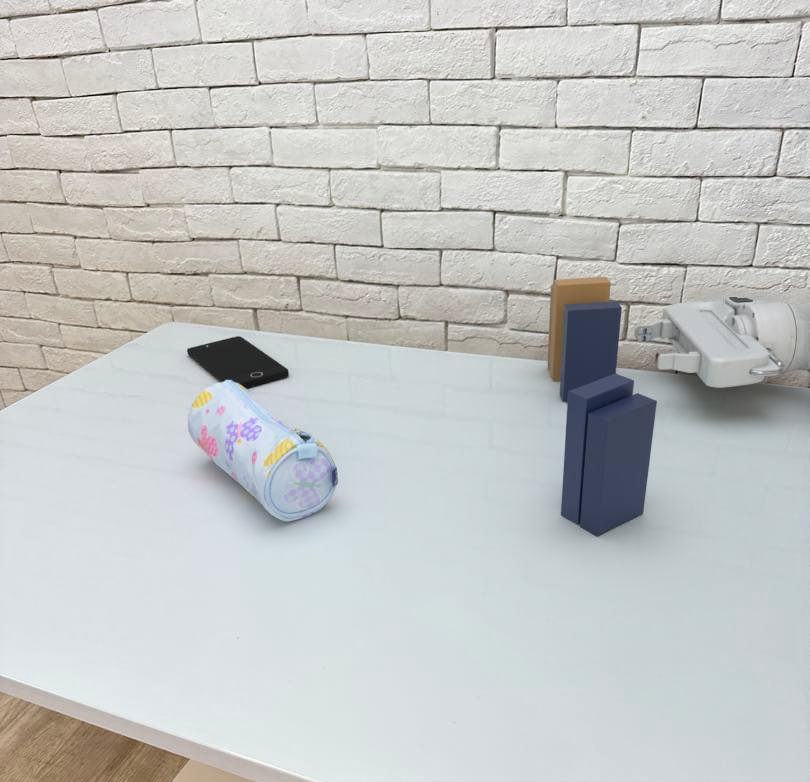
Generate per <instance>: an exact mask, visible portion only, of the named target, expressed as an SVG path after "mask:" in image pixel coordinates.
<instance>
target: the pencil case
mask: <svg viewBox="0 0 810 782" xmlns="http://www.w3.org/2000/svg"><path fill="white" fill-rule="evenodd" d="M187 429H188V433H189V436H190V438H191V439H192V441H193V442H194V443H195V445H196V446H197V447H198V448H199V449H201V450H202V451H203V452H204V453H205V454H206V455H207V456H208V457H209V459H211V460H212V461H213V462H214V464H216V465H217V466H218V467H219V468H220V469H221V470H223V471H224V472H225V473H227V474H228V475H229V476H230V477H231V478H232V479H233V480H234V481H236V482H237V483H238V484H239V485H240V486H242V487H243V489H245V490H246V492H248V493H249V494H250V495H251V496H253V497H254V498H255V499H256V500H257V502H259V503H260V504H261V505H262V506H263V508H264V509H265V511H266V512H268V513H269V514H270V515H271V516H273V517H274V518H276V519H278V520H280V521H282V522H293V521H297V520H300V519H303V518H306V517H309V516H311V515H313V514H315V513H317V512H319V511H320V510H321V509H322V508H323V507H325V506H326V505H327V504H328V503H329V501H330V500H331V498H332V497H333V495H334V493H335V490H336V488H337V485H339V475H338V468H337V466H336V464H335V461H334V458H333V456H332V455H331V453H330V452H329V450H328V448H326V446H325V445H324V444H323V443H322V442H321V441H320V440H319V439H318V438H315V436H314V435H313V434H312V433H310V432H308V431H304V430H302V429H300V428H299V427H297V426H294V427H293V428H292V429H290V428H289V427H288V426H287V425H285V424H284V423H283V422H282V421H281V420H279V419H278V418H277V417H276V416H275V415H274V414H273V413H272V412H271V411H270V410H269V409H268V408H266V407H265V406H263V404H261V402H259V401H258V399H256V398H254V397H253V396H252V394H251V393H250V392H249V390H248V389H247V388H244V387H243V386H242V385H240V384H239V383H235V382H233V381H232V380H225V381H224V382H221V381H219V382H215V383H214V384H212V385H209V386H207V387H205V388H203V389H202V390H200V392H198V394H197V395H196V396H195V397H194V399H193V401H192V403H191V405H190V408H189V410H188V415H187Z"/></svg>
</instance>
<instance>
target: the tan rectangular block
mask: <svg viewBox="0 0 810 782" xmlns="http://www.w3.org/2000/svg"><path fill="white" fill-rule="evenodd" d="M611 283H612V282H611V280H610V279H609V278H608V277H607V276H595V277H579V278H562V279H560V278H559V279H553V284H551V285H550V297H549V298H550V301H549V319H548V320H549V321H548V322H549V323H548V324H549V325H548V342H547V343H548V346H547V365H546V367H547V366H548V368H549V370H548V372H549V371H550V372H549V376H550V375H551V376H550V378H552V379H551V380H560V378H561V360H562V341H563V322H564V305H565V304H578V303H595V302H610V297H611V296H610V295H611ZM548 368H547V369H548Z"/></svg>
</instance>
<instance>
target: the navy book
mask: <svg viewBox="0 0 810 782" xmlns="http://www.w3.org/2000/svg"><path fill="white" fill-rule="evenodd" d="M622 311H623V307H622V306H621V304H620V303H619V302H618V300H614V301H609V302H595V303H578V304H565V305H564V322H563V341H562V360H561V378H560V381H559V396H560V399H561V401H562V402H563V403H567V402H568V391H571V390H573V389H576V388H579V387H581V386H584V385H586V384H589V383H592V382H594V381H597V380H599V379H602V378H605V377H607V376H610V375H612V374H615V373H616V374H617V367H618V366H617V363H618V354H619V342H620V332H621V320H622Z"/></svg>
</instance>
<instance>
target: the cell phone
mask: <svg viewBox="0 0 810 782" xmlns="http://www.w3.org/2000/svg"><path fill="white" fill-rule="evenodd" d="M186 353H187V355H188V356H190V357H191V358H192V359H193V360H194V361H196V362H197V363H198V364H199V365H201V366H202V367H203V368H204V369H205V370H207V372H209V373H211V375H213V376H214V377H215V378H216V379H217V380H219V382H224V381H225V380H232V381H233V382H235V383H239V384H240V385H242V386H243V387H244V388H246V389H247V388H250V387H255V386H258V385H262V384H265V383H268V382H272V381H277V380H280V379H284V378H287V377H289V374H290V373H289V369H288V368H287V367H285V366H284V365H282V364H281V362H278V361H277V360H275V359H274V358H272V356H270V355H269V354H266V352H264V351H262V350H261V349H259V348H258V347H257V346H256V345H254V344H252V343H251V342H250V341H248V340H247V339H245V338H244V337H242V336H241V335H237V336H232V337H229V338H224V339H221V340H216V341H212V342H208V343H204V344H200V345H195V346H191V347H188V348H187V349H186Z"/></svg>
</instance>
